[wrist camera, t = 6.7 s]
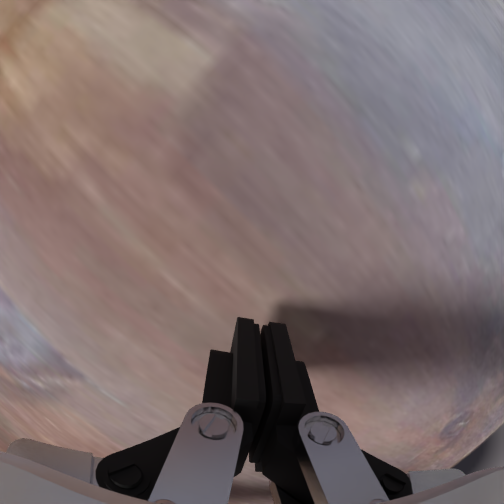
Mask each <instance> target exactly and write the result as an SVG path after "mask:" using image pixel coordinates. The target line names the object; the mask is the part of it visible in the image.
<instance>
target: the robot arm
mask: <svg viewBox="0 0 504 504" xmlns="http://www.w3.org/2000/svg"><path fill="white" fill-rule="evenodd" d="M248 453H249V462H251V463H255V471H256V472H262V474H263V475H264V476H266V477H267V478H268V479H270V480H269V487H270V491H271V494H272V498H273V501H274V504H504V467H495V468H489V469H484V470H481V471H477V472H474V473H471V474H469V475H465V474H464V473H463V472H462V471H459V470H458V469H442V470H428V471H409V472H408V473H407V474H405V473H404V472H403V471H401V470H399V469H398V468H396V467H393V466H391V465H389V464H388V463H386V462H384V461H382V460H380V459H378V458H376V457H374V456H372V455H370V454H368V453H367V452H365V451H363V450H361V449H360V448H359V446H358V444H357V442H356V440H355V439H354V437H353V435H352V433H351V432H350V430H349V428H348V426H347V425H346V424H345V423H344V421H342V420H341V419H340V418H339V417H337V416H335V415H333V414H330V413H326V412H319V410H318V406H317V403H316V400H315V396H314V393H313V389H312V386H311V383H310V379H309V376H308V373H307V369H306V366H305V364H304V362H302V361H295V358H294V354H293V350H292V346H291V343H290V339H289V335H288V331H287V327H286V324H281V323H274V322H269V324H268V326H267V325H263V327H262V330H261V334H260V330H259V324H254V320H253V319H247V318H241V317H238V318H237V322H236V327H235V332H234V337H233V342H232V347H231V352H230V353H229V352H223V351H217V350H210V356H209V362H208V369H207V375H206V381H205V388H204V394H203V401H202V404H198V405H195V406H194V407H192V408H191V409H189V411H188V412H187V414H186V415H185V417H184V420H183V422H182V424H181V427H179V428H177V429H174V430H172V431H170V432H168V433H165V434H163V435H160V436H158V437H156V438H153V439H151V440H148V441H146V442H143V443H141V444H138V445H135V446H133V447H130V448H127V449H125V450H122V451H119V452H116V453H113V454H111V455H109V456H107V457H105V458H100V457H93V455H92V453H88V452H82V451H77V450H72V449H67V448H63V447H58V446H54V445H50V444H46V443H42V442H39V441H35V440H32V439H25V438H22V439H18V440H15V441H14V442H12V443H11V444H10V445H9V447H8V449H7V452H6V453H5V452H2V451H0V504H228V500H229V496H230V491H231V487H232V482H233V477H235V476H236V475H238V474H239V473H241V471H242V468H243V466H244V463H245V461H246V458H247V455H248Z"/></svg>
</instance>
